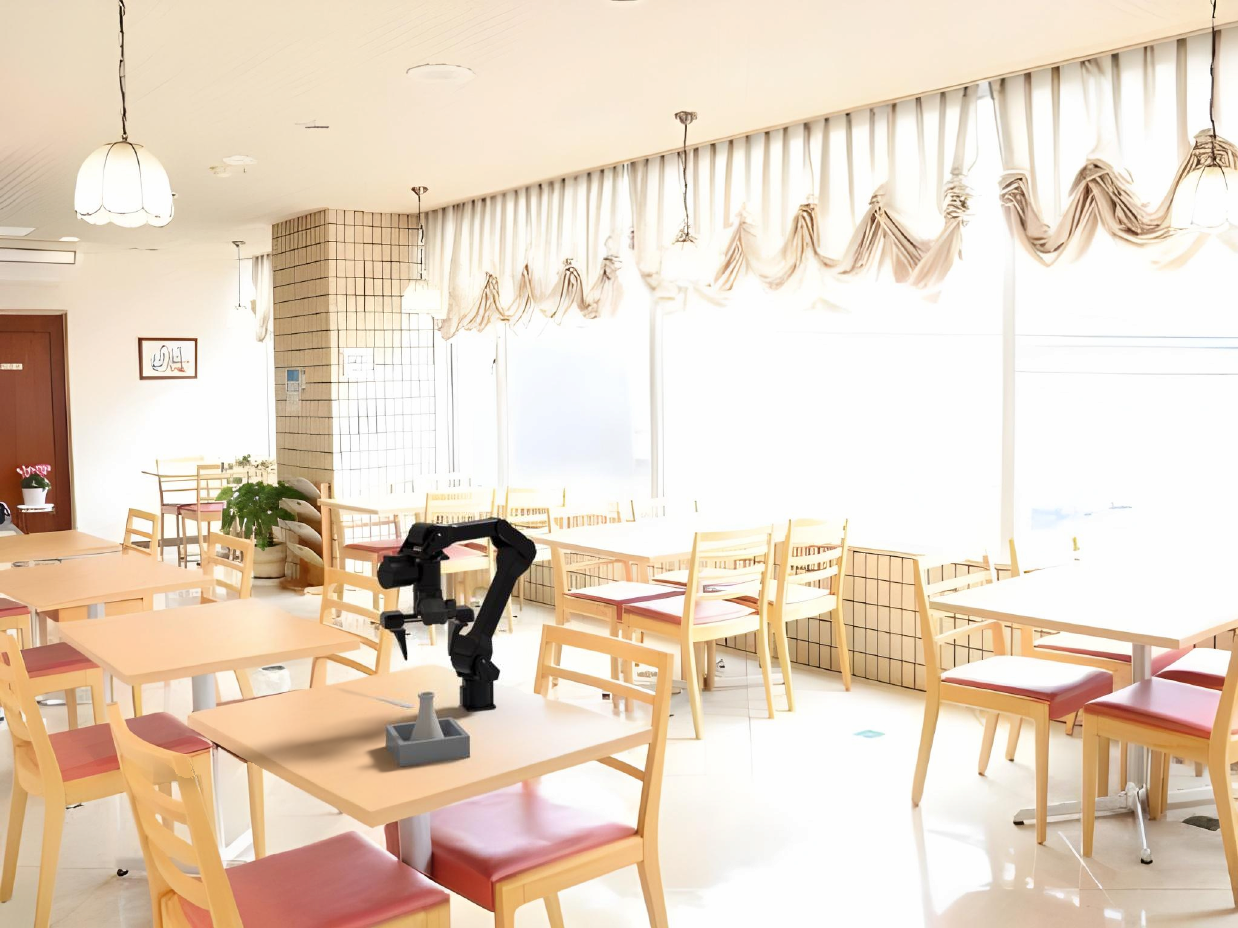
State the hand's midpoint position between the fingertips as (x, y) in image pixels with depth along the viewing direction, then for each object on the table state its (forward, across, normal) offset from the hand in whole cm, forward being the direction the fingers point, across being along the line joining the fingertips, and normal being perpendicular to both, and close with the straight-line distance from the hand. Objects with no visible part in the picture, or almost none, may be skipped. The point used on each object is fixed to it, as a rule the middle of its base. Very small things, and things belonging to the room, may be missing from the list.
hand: (427, 657), depth 218 cm
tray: (+13, -5, -20) cm, 24 cm away
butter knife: (+14, -8, +22) cm, 27 cm away
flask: (+12, -5, -20) cm, 24 cm away
